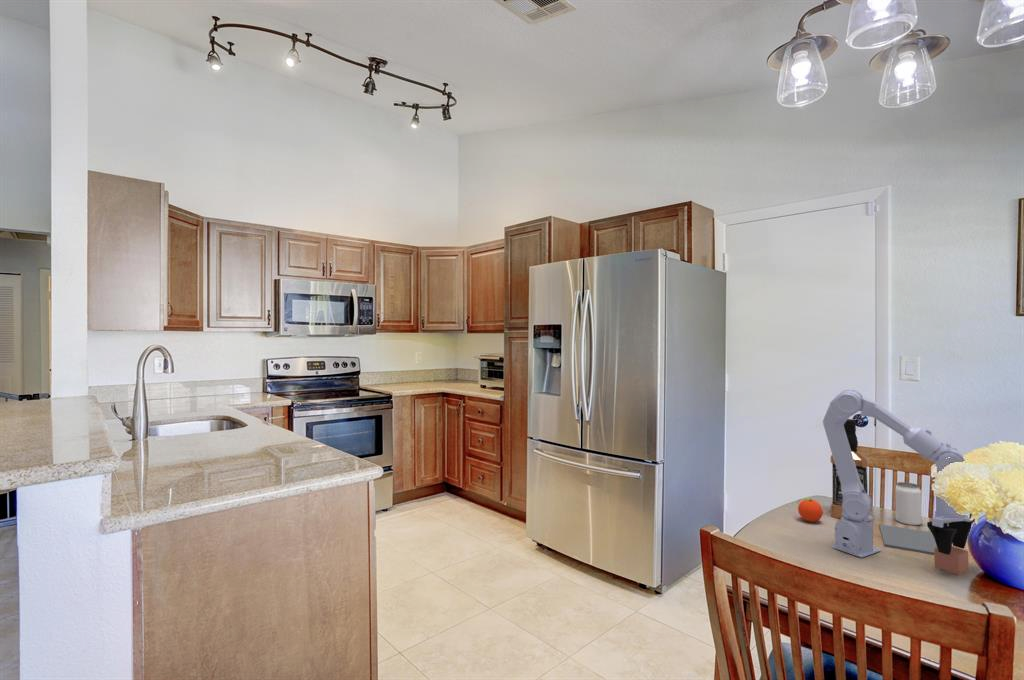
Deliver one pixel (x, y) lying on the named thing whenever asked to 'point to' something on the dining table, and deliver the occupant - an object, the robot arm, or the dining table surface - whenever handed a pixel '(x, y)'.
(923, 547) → the slate mat
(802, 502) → the clementine
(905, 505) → the can
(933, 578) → the dining table surface
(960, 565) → the brick cube
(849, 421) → the whiskey bottle
